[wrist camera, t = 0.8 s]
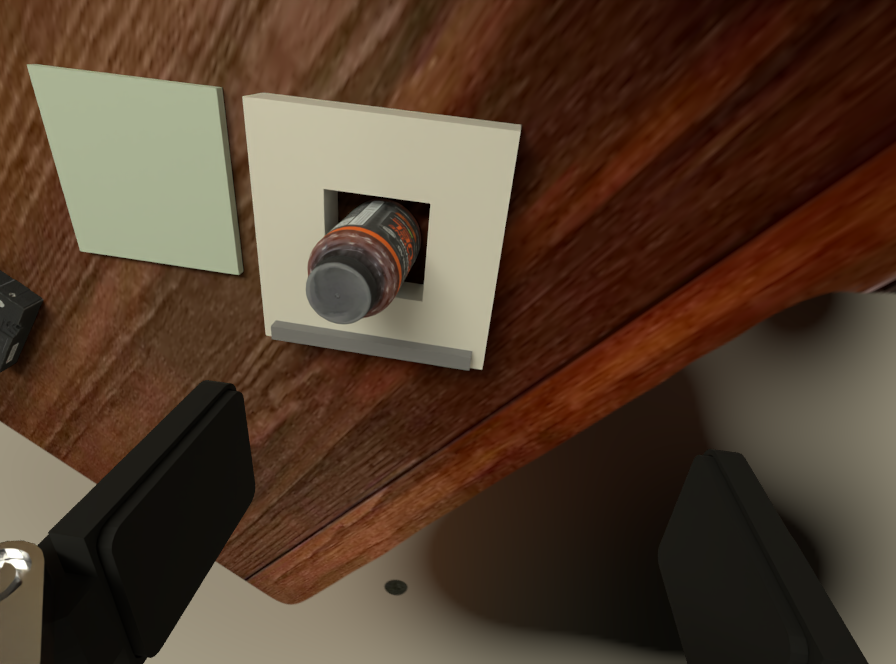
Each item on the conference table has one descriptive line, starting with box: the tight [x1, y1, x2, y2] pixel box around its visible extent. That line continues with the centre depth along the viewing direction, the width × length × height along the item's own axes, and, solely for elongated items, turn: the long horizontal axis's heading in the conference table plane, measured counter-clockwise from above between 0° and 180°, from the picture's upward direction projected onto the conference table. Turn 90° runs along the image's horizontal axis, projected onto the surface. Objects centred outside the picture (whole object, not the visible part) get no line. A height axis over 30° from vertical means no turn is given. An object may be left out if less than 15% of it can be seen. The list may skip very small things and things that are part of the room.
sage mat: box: [27, 64, 243, 275], centre depth 39 cm, size 14×14×1 cm
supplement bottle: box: [306, 199, 421, 324], centre depth 34 cm, size 6×6×11 cm
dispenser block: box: [242, 93, 521, 371], centre depth 37 cm, size 18×18×4 cm
